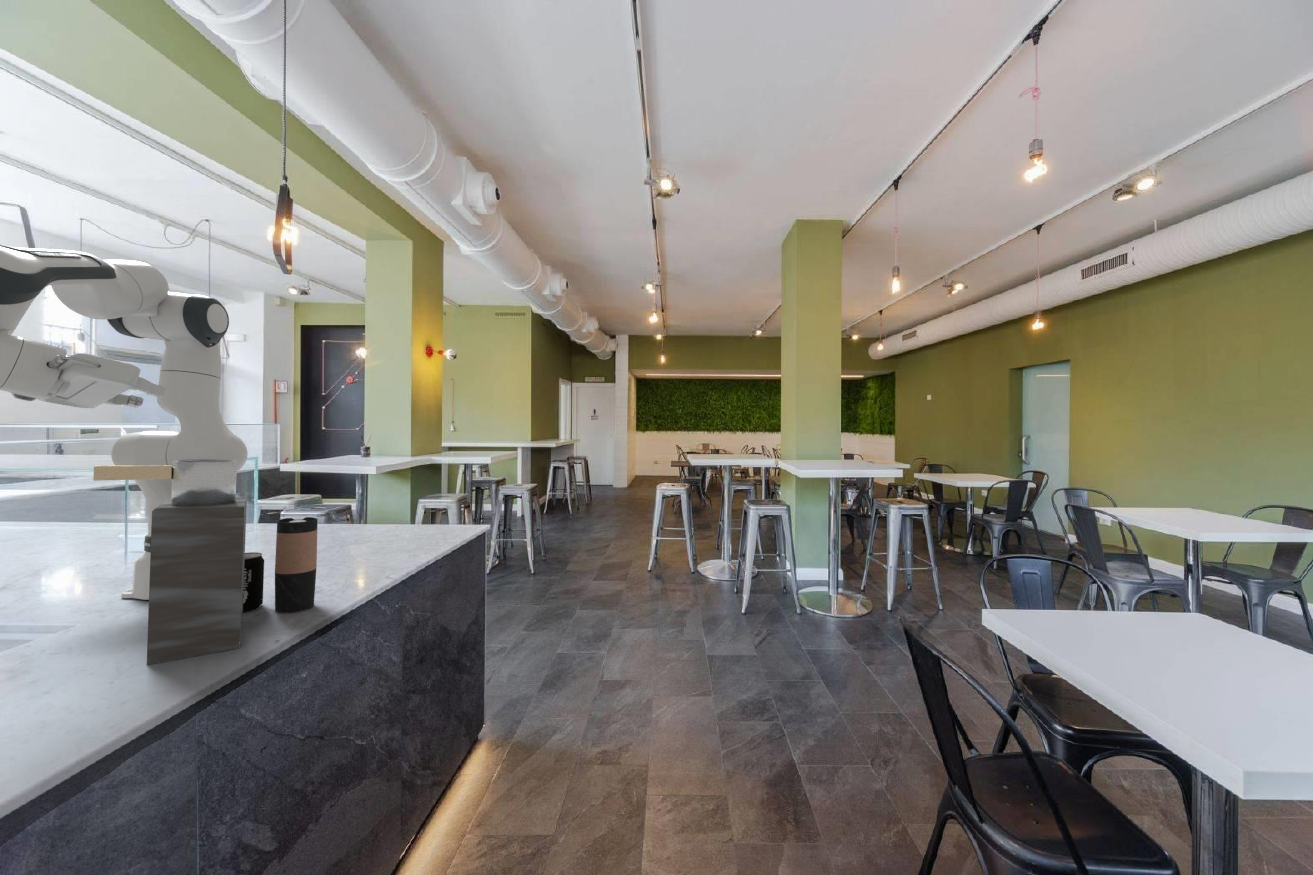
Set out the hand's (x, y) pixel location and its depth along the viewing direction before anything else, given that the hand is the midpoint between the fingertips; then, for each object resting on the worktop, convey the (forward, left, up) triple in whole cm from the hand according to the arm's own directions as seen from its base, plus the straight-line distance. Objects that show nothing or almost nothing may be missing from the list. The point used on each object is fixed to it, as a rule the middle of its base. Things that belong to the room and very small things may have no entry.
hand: (151, 397), depth 92 cm
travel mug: (-8, +23, -46) cm, 52 cm away
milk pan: (+4, +3, -20) cm, 20 cm away
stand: (+4, +8, -45) cm, 46 cm away
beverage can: (-13, +14, -46) cm, 50 cm away
